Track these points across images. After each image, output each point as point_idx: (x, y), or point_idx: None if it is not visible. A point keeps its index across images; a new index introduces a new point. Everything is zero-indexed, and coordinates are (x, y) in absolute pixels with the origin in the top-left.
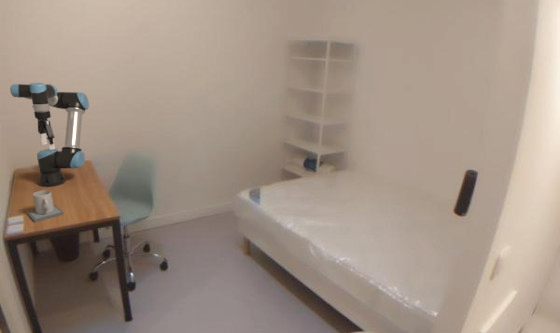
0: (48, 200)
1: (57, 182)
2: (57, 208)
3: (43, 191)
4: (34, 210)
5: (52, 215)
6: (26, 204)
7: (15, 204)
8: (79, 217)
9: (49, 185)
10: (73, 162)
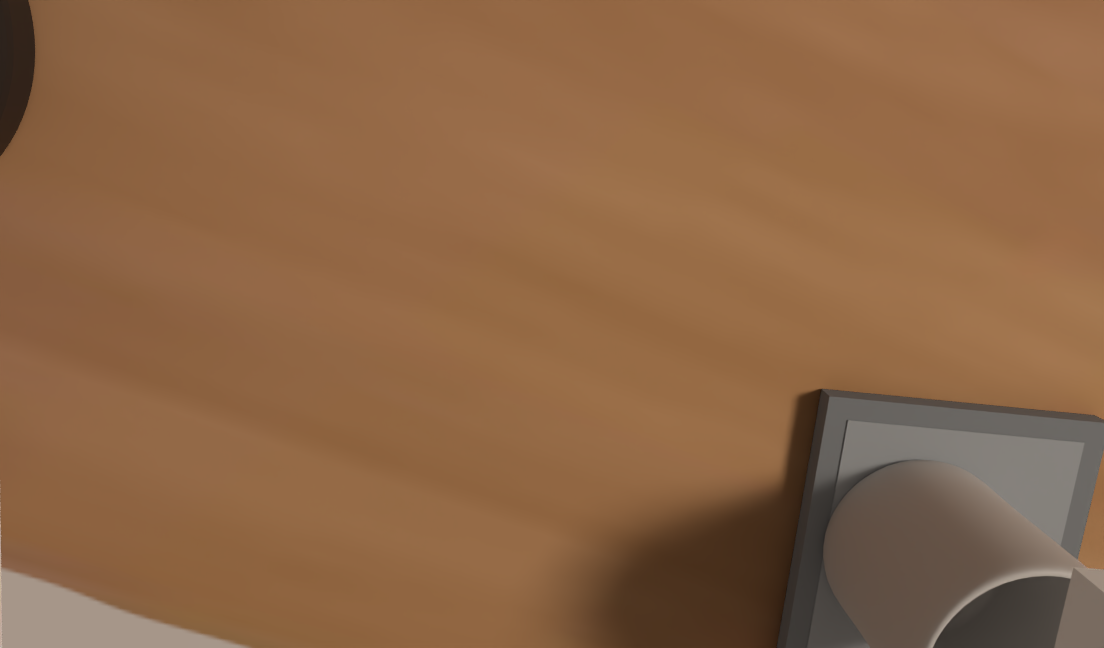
0: None
1: (10, 23)
2: (947, 423)
3: (940, 619)
4: (792, 611)
5: (1082, 535)
6: (475, 578)
7: None
8: None
9: (2, 139)
10: None
